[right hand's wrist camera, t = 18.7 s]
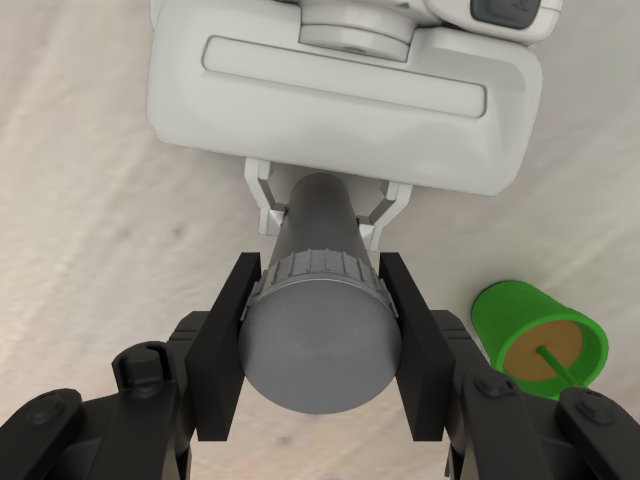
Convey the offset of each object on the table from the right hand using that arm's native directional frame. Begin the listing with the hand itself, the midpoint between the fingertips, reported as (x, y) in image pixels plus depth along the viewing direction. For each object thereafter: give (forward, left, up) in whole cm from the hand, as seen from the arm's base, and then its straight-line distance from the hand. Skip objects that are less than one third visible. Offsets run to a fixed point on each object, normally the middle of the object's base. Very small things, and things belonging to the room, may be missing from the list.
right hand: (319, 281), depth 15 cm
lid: (0, 0, +4) cm, 4 cm away
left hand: (-1, 0, -7) cm, 7 cm away
